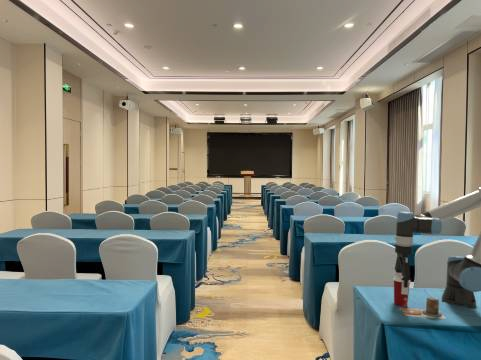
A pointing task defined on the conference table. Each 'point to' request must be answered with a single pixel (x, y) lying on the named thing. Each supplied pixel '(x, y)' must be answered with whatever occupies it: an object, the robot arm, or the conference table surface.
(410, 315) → the board
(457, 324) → the conference table surface
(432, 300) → the brown short cylinder
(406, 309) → the terracotta pad
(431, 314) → the grey pad
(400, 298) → the paper cup
